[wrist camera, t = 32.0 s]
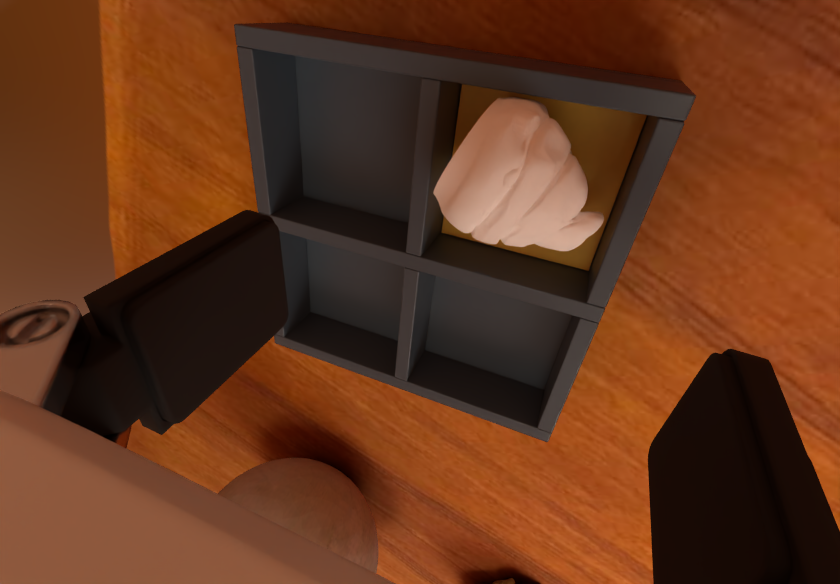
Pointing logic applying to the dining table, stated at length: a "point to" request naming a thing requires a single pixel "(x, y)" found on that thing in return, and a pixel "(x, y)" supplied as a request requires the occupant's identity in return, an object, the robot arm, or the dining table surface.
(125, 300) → the robot arm
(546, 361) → the grid
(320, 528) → the decorative sphere
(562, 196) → the garlic bulb
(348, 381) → the dining table surface
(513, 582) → the seashell
